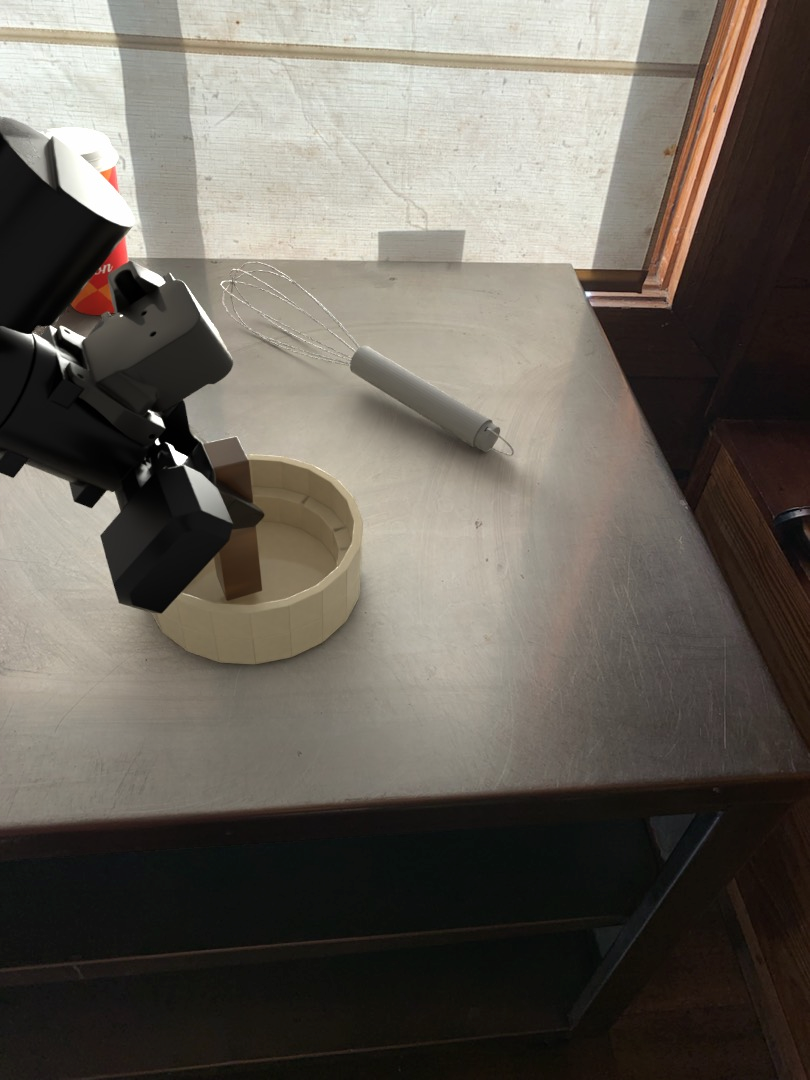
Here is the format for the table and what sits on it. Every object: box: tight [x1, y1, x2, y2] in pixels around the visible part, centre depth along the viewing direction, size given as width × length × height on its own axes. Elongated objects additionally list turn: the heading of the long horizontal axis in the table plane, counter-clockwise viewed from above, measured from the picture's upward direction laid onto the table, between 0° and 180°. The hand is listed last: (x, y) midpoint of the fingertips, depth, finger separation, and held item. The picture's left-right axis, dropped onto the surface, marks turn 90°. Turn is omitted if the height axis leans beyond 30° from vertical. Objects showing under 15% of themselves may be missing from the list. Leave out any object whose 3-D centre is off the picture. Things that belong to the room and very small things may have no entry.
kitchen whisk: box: [220, 261, 515, 457], centre depth 70 cm, size 6×34×6 cm, turn 50°
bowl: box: [150, 454, 364, 665], centre depth 52 cm, size 14×14×6 cm
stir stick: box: [196, 435, 262, 601], centre depth 48 cm, size 2×2×11 cm
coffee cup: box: [40, 127, 129, 316], centre depth 74 cm, size 8×8×15 cm
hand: (252, 505), depth 48 cm, fingers closed on stir stick, 2 cm apart
